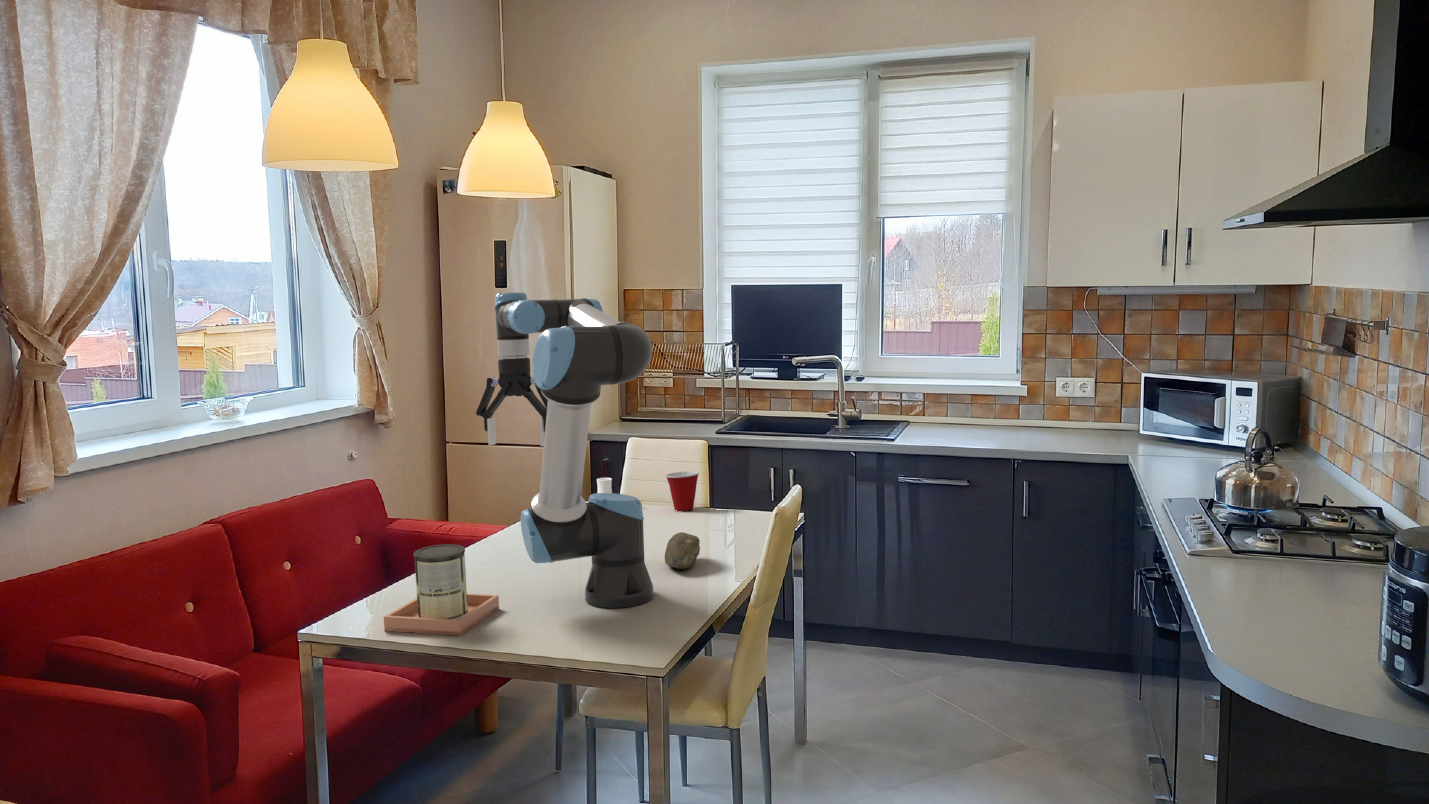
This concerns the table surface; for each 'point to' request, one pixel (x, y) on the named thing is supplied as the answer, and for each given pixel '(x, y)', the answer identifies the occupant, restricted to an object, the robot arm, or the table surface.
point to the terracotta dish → (410, 622)
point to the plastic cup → (683, 489)
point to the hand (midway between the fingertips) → (518, 445)
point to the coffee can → (441, 582)
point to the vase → (604, 485)
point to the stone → (682, 550)
